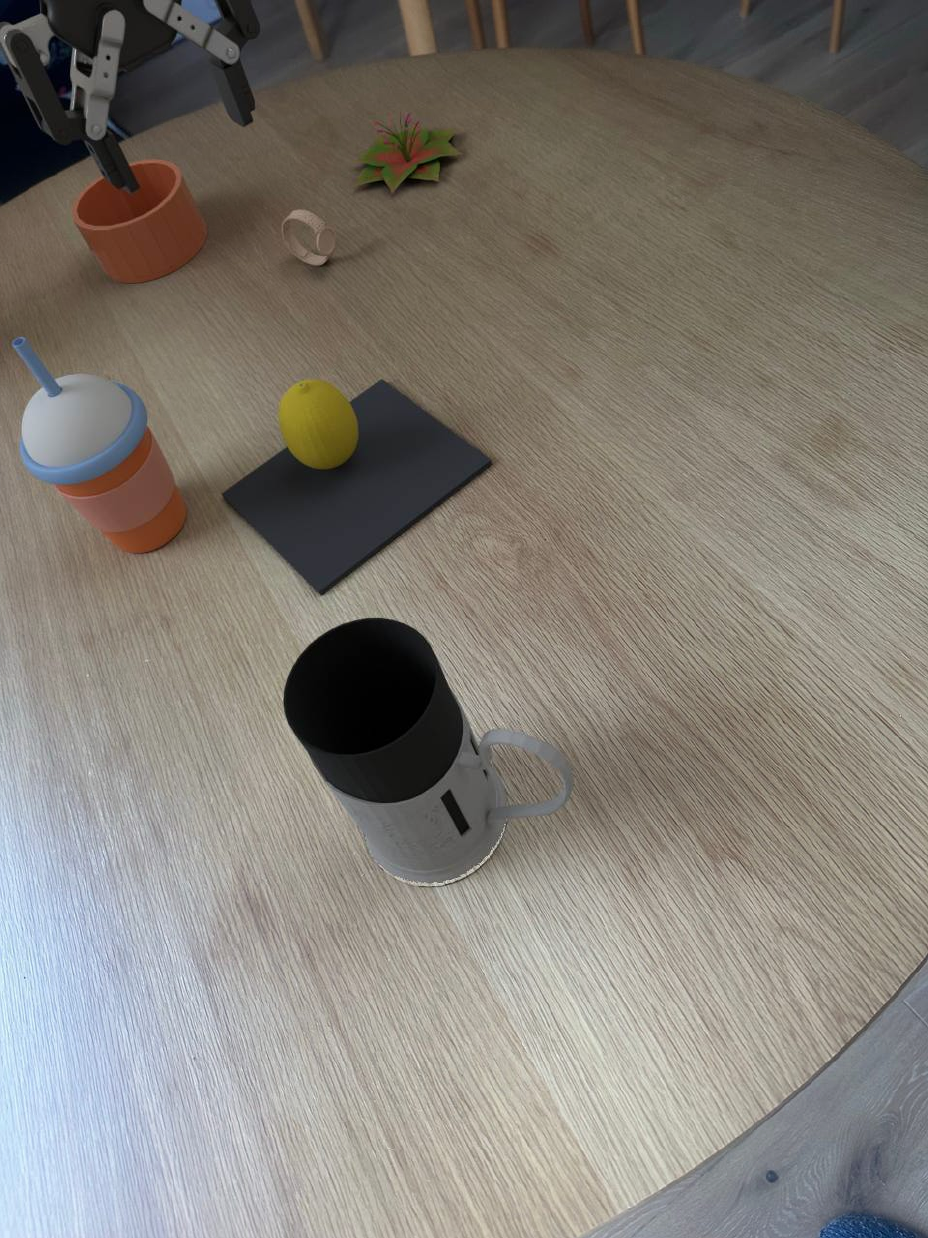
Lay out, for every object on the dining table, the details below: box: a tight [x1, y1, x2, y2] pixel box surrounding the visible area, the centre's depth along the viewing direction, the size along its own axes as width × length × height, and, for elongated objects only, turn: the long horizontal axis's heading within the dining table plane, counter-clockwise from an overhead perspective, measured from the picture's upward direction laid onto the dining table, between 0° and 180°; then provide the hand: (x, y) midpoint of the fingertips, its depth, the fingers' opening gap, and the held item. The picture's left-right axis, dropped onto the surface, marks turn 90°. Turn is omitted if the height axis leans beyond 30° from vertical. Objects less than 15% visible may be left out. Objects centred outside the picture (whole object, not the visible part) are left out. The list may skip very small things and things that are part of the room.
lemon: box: [277, 378, 358, 469], centre depth 72 cm, size 6×6×8 cm
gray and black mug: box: [282, 617, 575, 884], centre depth 51 cm, size 9×14×15 cm, turn 67°
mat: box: [221, 378, 493, 596], centre depth 74 cm, size 16×14×1 cm
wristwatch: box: [280, 209, 337, 267], centre depth 90 cm, size 3×5×5 cm, turn 60°
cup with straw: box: [11, 336, 187, 554], centre depth 69 cm, size 9×9×18 cm
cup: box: [70, 158, 208, 284], centre depth 97 cm, size 11×11×6 cm
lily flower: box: [352, 110, 463, 194], centre depth 96 cm, size 12×12×5 cm
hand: (186, 154), depth 62 cm, fingers open, 8 cm apart
